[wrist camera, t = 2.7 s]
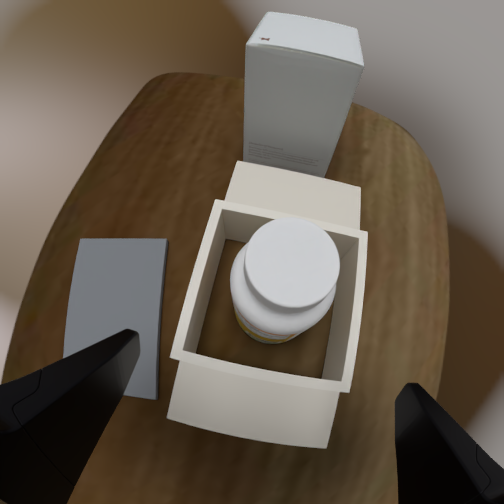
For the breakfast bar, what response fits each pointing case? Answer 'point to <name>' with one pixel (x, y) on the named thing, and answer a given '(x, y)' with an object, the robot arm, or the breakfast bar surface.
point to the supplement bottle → (284, 279)
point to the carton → (259, 380)
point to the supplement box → (298, 91)
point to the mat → (119, 301)
